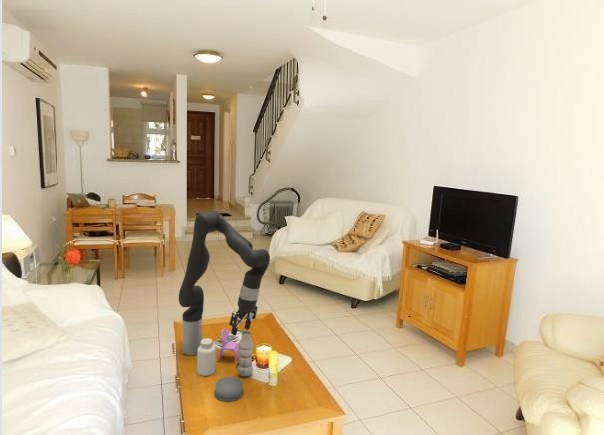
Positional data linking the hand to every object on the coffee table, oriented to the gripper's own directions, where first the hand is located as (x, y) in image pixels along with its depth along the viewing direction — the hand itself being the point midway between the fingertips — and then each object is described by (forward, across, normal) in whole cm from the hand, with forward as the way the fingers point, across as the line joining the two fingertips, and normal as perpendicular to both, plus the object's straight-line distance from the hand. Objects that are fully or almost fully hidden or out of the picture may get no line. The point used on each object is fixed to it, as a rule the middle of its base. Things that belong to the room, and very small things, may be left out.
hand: (240, 331), depth 172 cm
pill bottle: (+29, -4, -15) cm, 33 cm away
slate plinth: (+26, +3, +4) cm, 26 cm away
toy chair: (+27, -18, -15) cm, 35 cm away
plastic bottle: (+25, -12, 0) cm, 28 cm away
